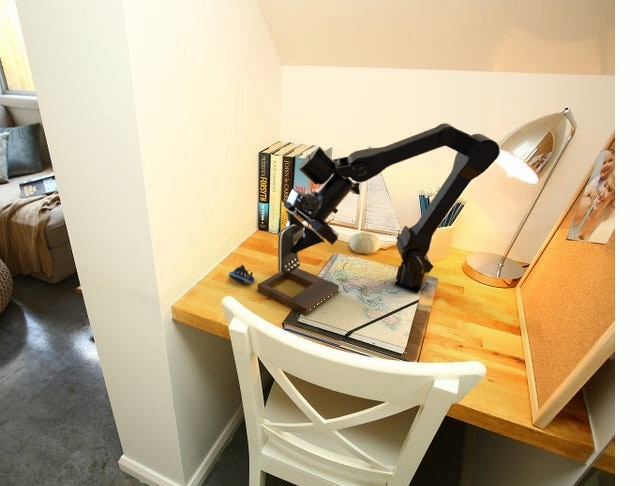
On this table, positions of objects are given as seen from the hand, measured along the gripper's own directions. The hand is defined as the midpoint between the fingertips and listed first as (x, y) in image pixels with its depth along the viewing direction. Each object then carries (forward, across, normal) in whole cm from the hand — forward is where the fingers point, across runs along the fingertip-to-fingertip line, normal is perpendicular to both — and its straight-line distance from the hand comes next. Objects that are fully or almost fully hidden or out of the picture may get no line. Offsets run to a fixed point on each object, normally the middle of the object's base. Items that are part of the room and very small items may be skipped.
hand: (286, 247), depth 98 cm
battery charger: (+4, 0, +6) cm, 7 cm away
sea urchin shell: (-14, -13, +33) cm, 38 cm away
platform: (+7, +1, +11) cm, 14 cm away
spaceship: (+16, -10, +3) cm, 19 cm away
